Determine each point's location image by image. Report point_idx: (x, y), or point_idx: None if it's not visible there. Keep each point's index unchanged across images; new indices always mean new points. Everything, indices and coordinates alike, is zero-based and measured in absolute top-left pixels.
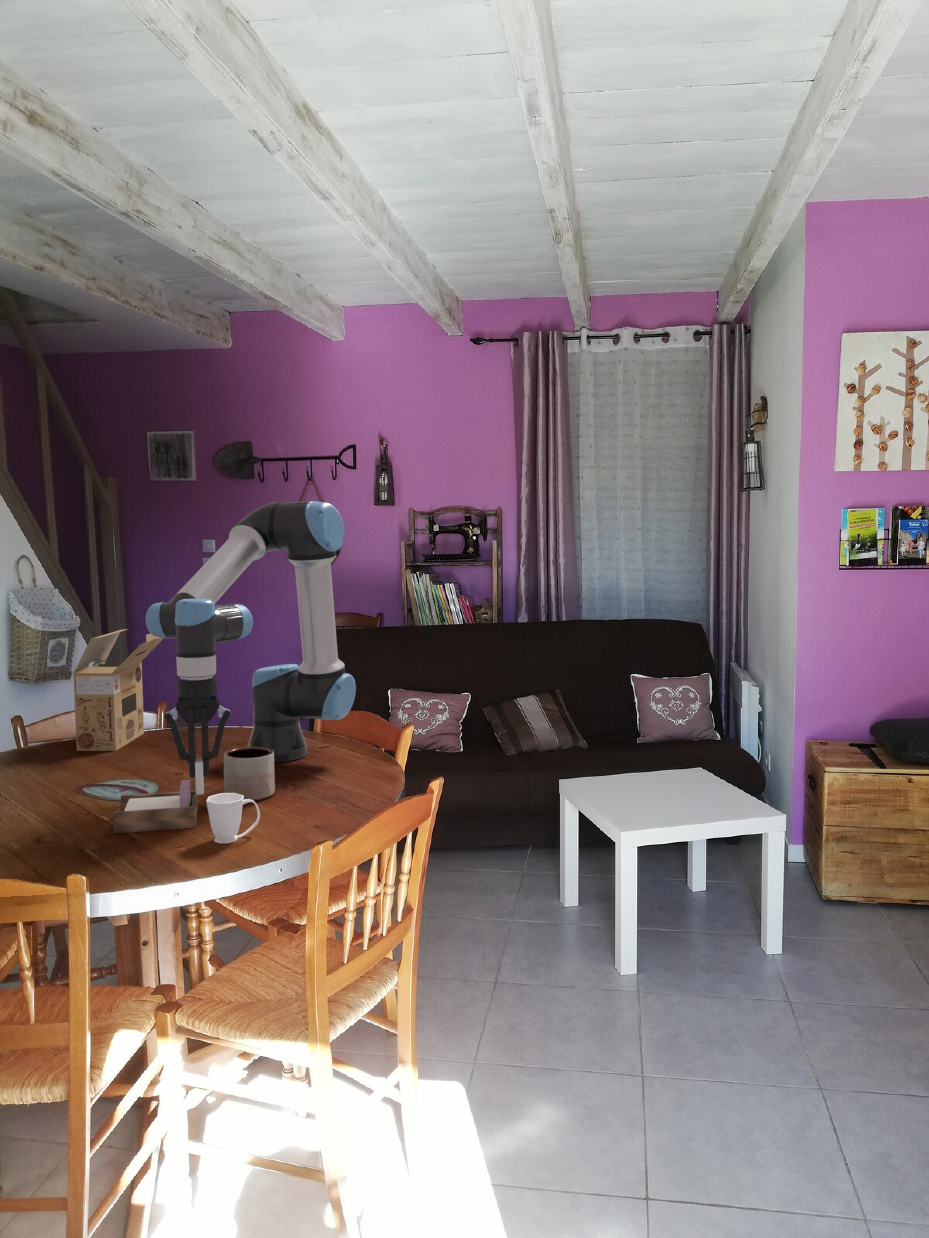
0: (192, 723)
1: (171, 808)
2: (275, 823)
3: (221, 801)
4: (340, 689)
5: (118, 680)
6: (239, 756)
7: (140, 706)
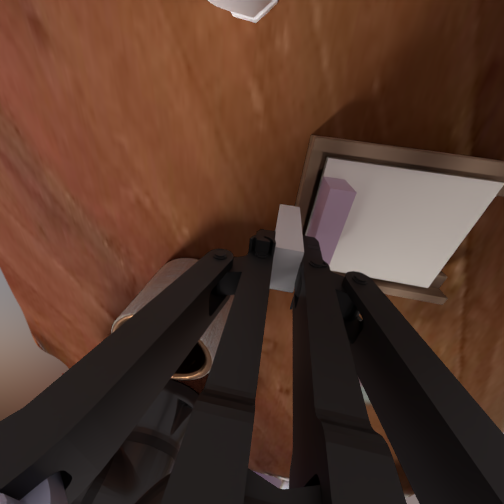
0: (350, 495)
1: (377, 153)
2: (137, 98)
3: None
4: None
5: None
6: (190, 360)
7: None
